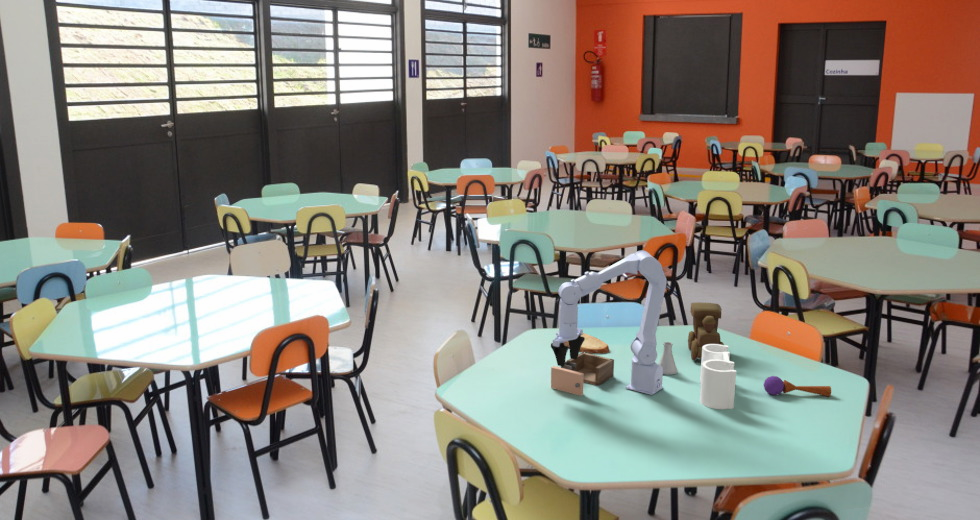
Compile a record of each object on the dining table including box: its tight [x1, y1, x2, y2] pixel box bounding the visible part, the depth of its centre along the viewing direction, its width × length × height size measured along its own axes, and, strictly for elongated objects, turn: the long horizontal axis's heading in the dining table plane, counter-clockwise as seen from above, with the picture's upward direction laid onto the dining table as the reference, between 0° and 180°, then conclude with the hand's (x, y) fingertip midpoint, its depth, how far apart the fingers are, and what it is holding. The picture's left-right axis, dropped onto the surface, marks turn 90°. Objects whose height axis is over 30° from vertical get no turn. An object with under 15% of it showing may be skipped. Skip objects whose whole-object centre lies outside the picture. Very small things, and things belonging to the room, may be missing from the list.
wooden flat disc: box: [564, 332, 611, 355], centre depth 301 cm, size 18×18×4 cm
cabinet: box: [560, 352, 615, 387], centre depth 269 cm, size 13×13×6 cm
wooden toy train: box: [687, 302, 725, 361], centre depth 289 cm, size 20×11×17 cm, turn 172°
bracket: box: [699, 344, 737, 410], centre depth 256 cm, size 25×10×12 cm, turn 168°
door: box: [550, 365, 585, 397], centre depth 258 cm, size 11×2×7 cm, turn 53°
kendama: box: [763, 375, 832, 398], centre depth 255 cm, size 6×6×20 cm
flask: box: [657, 341, 678, 376], centre depth 274 cm, size 7×7×10 cm
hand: (567, 362), depth 257 cm, fingers open, 7 cm apart
